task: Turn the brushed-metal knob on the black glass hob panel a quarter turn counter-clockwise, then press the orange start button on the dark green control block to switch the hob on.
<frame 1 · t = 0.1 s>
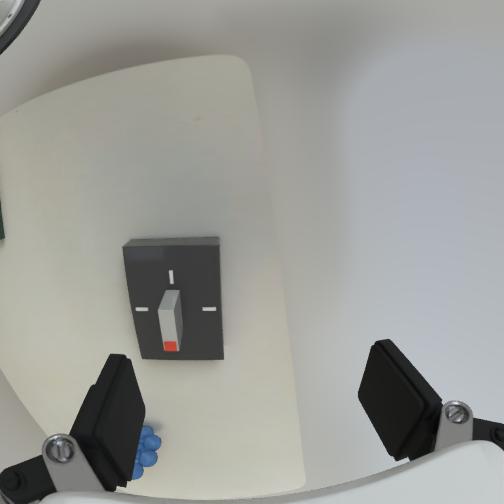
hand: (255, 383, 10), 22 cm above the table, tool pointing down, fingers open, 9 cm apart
grapes: (136, 429, 39), on the table
hob knob: (171, 320, 27), point 5 cm above the table, hinge at 0.0°
hob: (178, 296, 32), on the table
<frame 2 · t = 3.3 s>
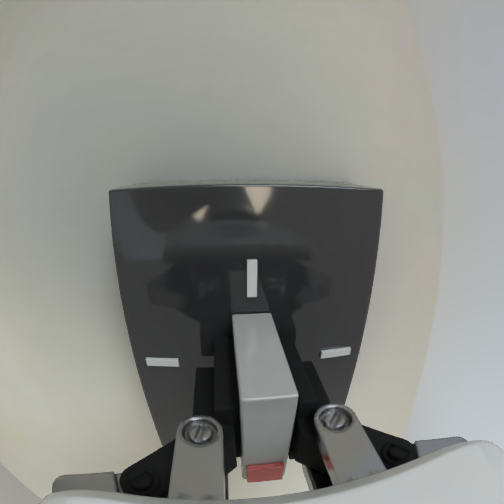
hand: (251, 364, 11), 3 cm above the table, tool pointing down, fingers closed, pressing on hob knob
hob knob: (258, 400, 9), point 5 cm above the table, hinge at 0.0°, touching gripper
hob: (245, 323, 14), on the table
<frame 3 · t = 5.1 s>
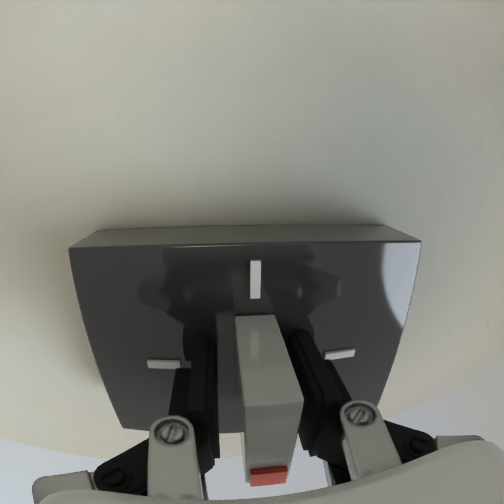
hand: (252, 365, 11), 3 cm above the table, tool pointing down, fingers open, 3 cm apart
hob knob: (261, 403, 9), point 5 cm above the table, hinge at 90.0°
hob: (247, 324, 14), on the table
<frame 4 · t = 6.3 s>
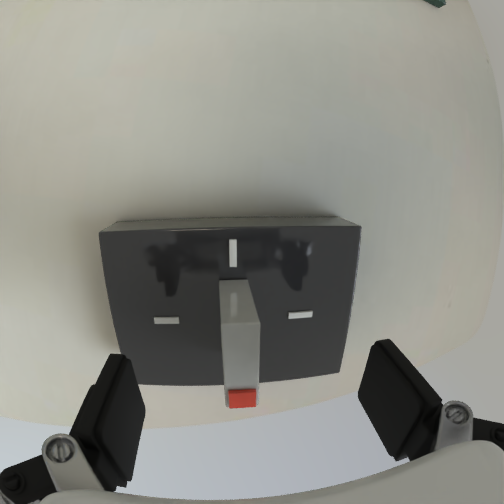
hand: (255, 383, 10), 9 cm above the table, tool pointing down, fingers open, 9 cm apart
hob knob: (237, 342, 13), point 5 cm above the table, hinge at 90.0°
hob: (231, 295, 18), on the table
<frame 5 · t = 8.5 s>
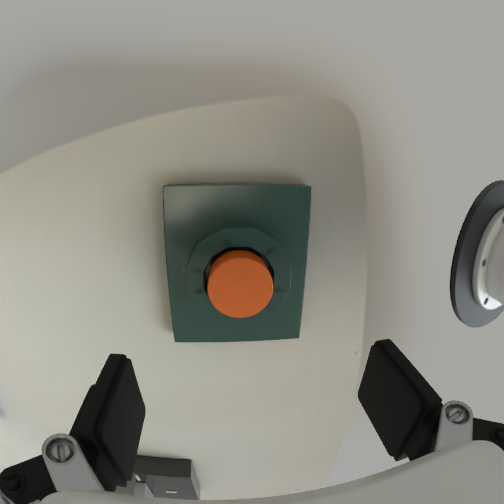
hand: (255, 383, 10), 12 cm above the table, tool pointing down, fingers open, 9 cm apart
hob knob: (143, 502, 24), point 5 cm above the table, hinge at 90.0°
control block: (236, 265, 21), on the table
hob: (147, 472, 29), on the table
start button: (239, 283, 18), point 3 cm above the table, slide at 0.1 cm
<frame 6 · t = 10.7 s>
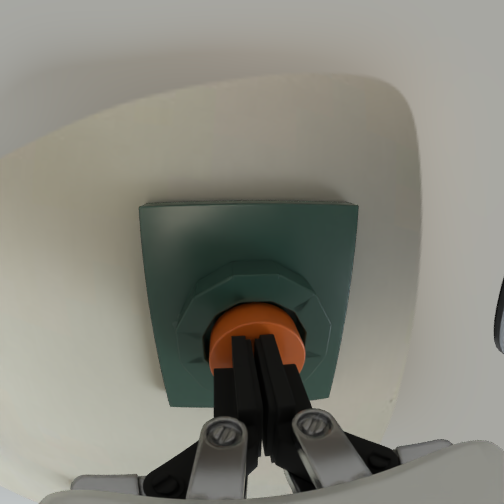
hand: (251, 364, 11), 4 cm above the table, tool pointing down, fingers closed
control block: (249, 314, 15), on the table
start button: (255, 350, 12), point 3 cm above the table, slide at -0.1 cm, touching gripper
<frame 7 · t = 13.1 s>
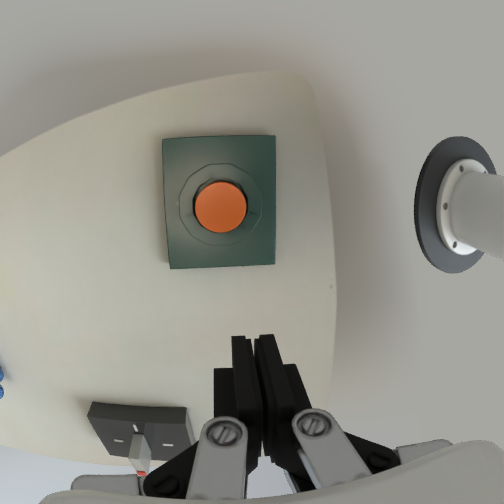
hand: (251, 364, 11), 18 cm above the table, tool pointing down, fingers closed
hob knob: (140, 455, 29), point 5 cm above the table, hinge at 90.0°
control block: (220, 201, 26), on the table
hob: (145, 427, 34), on the table
start button: (220, 206, 23), point 3 cm above the table, slide at 0.1 cm
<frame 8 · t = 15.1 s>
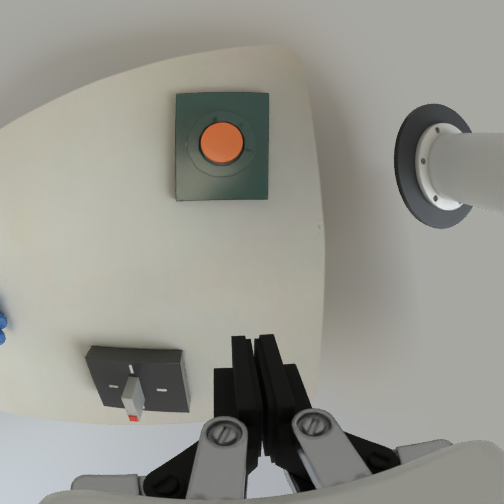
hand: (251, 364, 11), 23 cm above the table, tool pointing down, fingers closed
hob knob: (133, 399, 33), point 5 cm above the table, hinge at 90.0°
control block: (221, 145, 30), on the table
hob: (141, 374, 38), on the table
start button: (221, 142, 27), point 3 cm above the table, slide at 0.1 cm
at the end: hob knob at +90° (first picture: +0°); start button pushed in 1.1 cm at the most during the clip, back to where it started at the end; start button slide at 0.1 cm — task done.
